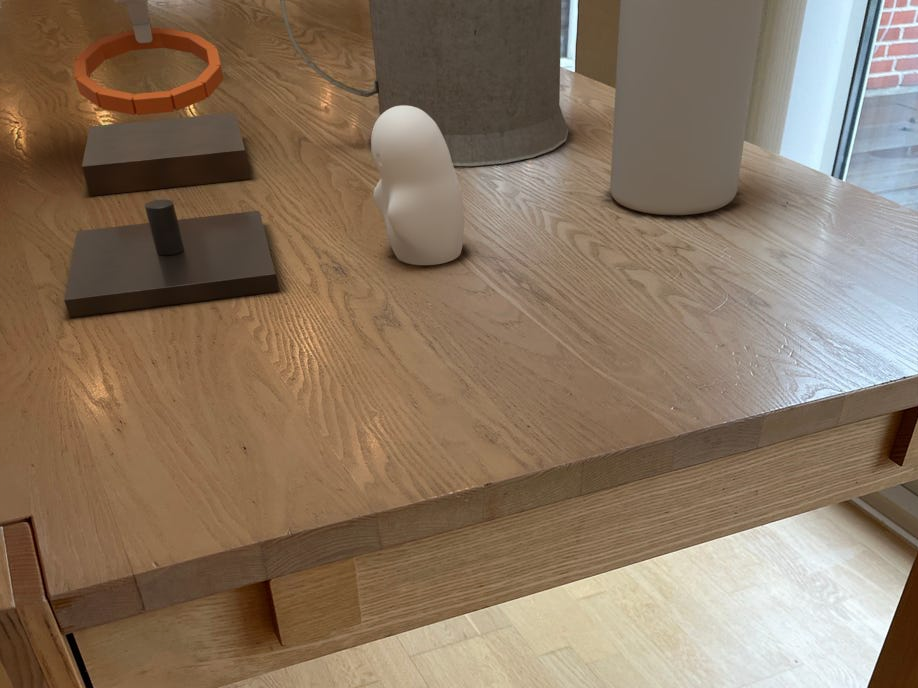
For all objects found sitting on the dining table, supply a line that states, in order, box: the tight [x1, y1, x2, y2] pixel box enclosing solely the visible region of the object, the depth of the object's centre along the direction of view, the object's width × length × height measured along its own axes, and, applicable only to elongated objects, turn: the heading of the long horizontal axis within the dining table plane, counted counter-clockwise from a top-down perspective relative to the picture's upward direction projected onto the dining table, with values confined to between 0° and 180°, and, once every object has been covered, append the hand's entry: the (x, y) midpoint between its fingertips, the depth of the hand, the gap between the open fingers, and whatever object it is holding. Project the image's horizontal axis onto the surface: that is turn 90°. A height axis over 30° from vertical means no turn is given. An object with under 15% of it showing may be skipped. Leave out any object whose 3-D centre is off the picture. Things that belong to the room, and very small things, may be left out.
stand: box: [81, 112, 251, 197], centre depth 108 cm, size 17×17×3 cm
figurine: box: [370, 105, 465, 266], centre depth 82 cm, size 7×8×12 cm
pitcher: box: [279, 0, 569, 167], centre depth 105 cm, size 23×32×25 cm
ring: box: [73, 27, 224, 116], centre depth 103 cm, size 15×15×2 cm
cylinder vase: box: [609, 0, 765, 216], centre depth 87 cm, size 12×12×25 cm
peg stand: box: [63, 198, 279, 318], centre depth 83 cm, size 17×17×6 cm
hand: (145, 39), depth 107 cm, fingers closed on ring, 1 cm apart
